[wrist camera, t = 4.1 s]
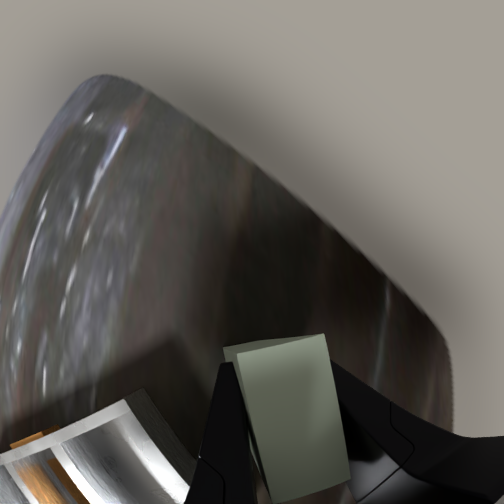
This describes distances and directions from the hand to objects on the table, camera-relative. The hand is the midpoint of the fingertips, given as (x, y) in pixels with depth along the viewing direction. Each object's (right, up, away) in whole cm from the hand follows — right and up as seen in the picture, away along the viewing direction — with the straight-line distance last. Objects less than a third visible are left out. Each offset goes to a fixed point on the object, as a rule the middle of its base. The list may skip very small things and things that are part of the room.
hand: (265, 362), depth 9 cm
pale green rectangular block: (-1, -3, +6) cm, 7 cm away
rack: (-10, -12, +2) cm, 16 cm away
